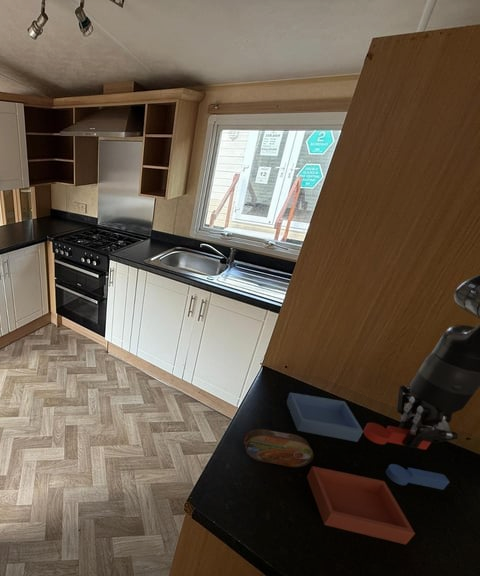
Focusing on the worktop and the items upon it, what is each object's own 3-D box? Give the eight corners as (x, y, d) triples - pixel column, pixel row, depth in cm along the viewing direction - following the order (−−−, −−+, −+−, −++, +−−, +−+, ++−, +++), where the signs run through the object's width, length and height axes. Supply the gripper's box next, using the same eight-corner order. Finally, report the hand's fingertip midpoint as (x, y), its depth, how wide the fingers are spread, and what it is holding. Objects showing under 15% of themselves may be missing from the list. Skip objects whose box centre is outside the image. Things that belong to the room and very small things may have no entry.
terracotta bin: (377, 492, 72) (384, 481, 70) (406, 544, 62) (415, 533, 61) (306, 476, 75) (311, 465, 73) (324, 524, 66) (330, 513, 64)
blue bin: (340, 411, 93) (345, 401, 91) (357, 442, 83) (363, 431, 81) (286, 402, 96) (289, 392, 94) (297, 430, 86) (301, 420, 85)
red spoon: (417, 438, 67) (423, 428, 66) (429, 454, 64) (437, 444, 63) (359, 426, 70) (364, 417, 68) (368, 442, 66) (374, 432, 65)
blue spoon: (434, 477, 75) (440, 470, 73) (446, 494, 71) (453, 486, 70) (382, 467, 77) (387, 459, 76) (391, 483, 73) (397, 475, 72)
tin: (242, 457, 79) (249, 434, 75) (240, 446, 82) (247, 424, 78) (308, 471, 76) (319, 448, 72) (303, 459, 79) (314, 436, 75)
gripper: (504, 410, 52) (449, 476, 59) (445, 359, 64) (405, 419, 71) (449, 401, 53) (403, 466, 61) (401, 352, 65) (367, 412, 73)
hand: (404, 440), depth 66 cm, fingers closed on red spoon, 2 cm apart
